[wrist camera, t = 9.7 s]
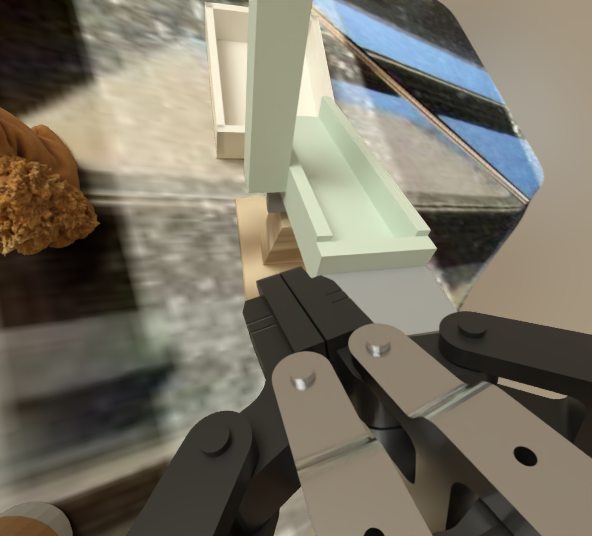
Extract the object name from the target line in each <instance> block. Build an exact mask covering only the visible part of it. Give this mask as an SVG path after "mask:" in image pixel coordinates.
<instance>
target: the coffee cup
mask: <svg viewBox="0 0 592 536" xmlns="http://www.w3.org/2000/svg"><path fill="white" fill-rule="evenodd" d="M0 536H73V533H72V529H71V526H70V523H69V520H68V519H67V517H66V516H65V515H64V513H63V512H62V511H61V510H59V509H58V508H56V507H55V506H53V505H51V504H47V503H43V502H28V503H25V504H21V505H18V506H15V507H13V508H11V509H9V510H7V511H5V512H3V513H2V514H0Z"/></svg>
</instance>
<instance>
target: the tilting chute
mask: <svg viewBox="0 0 592 536" xmlns="http://www.w3.org/2000/svg"><path fill="white" fill-rule="evenodd" d="M311 7H312V0H249V13H248V46H247V80H246V113H245V147H244V175H245V179H246V184H247V188H248V192H249V193H264V192H275V193H267V197H266V204H267V211H268V213H283V212H287V215H288V218H289V221H290V224H291V226H292V229H293V232H294V235H295V238H296V241H297V244H298V247H299V250H300V253H301V256H302V259H303V262H304V264H305V267H306V270H307V273H308V275H309V276H310V277H311V278H314V277H316V276H319V275H322V276H324V277H326V278H329V279H331V280H334V281H335V283H336V284H337V285H338V286H339V287H340V288H341V289H342V291H344V292H345V293H346V294H347V295H348V296H349V298H351V299H352V300H353V301H354V302H355V304H356V305H357V306H358V307H359V308H360V309H361V310H362V311H363V312H364V313H365V314H366V315H367V316H368V317H369V318H370V319H371V320H372V321H373V322H374V323H381V324H387V325H391V326H394V327H396V328H397V329H399V330H400V331H402V332H403V333H404V334H405V335H407V336H419V335H426V334H434V333H439V325H440V322H441V320H442V319H443V318H444V317H446V316H447V315H449V314H452V313H455V312H457V310H456V309H455V307H454V306H453V304H452V303H451V301H450V300H449V298H448V297H447V295H446V294H445V292H444V291H443V290H442V288H441V287H440V285H439V284H438V282H437V281H436V279H435V278H434V276H433V275H432V273H431V272H430V270H429V269H428V267H427V266H426V265H427V264H428V262H429V261H430V259H431V257H432V256H433V254H434V252H435V251H436V249H437V248H436V247H435V245H434V244H433V242H432V241H431V240H430V238H429V237H428V234H429V232H430V231H431V230H430V228H429V227H428V226H427V224H426V223H425V222H424V220H423V219H422V218H421V216H420V215H419V214H418V212H417V211H416V210H415V208H414V207H413V206H412V204H411V203H410V202H409V200H408V199H407V198H406V196H405V195H404V194H403V192H402V191H401V190H400V188H399V187H398V186H397V184H396V183H395V182H394V180H393V179H392V178H391V176H390V175H389V174H388V172H387V171H386V170H385V168H384V167H383V166H382V164H381V163H380V162H379V160H378V159H377V158H376V156H375V155H374V154H373V152H372V151H371V150H370V148H369V147H368V146H367V144H366V143H365V142H364V140H363V139H362V138H361V136H360V135H359V134H358V132H357V131H356V130H355V128H354V127H353V126H352V124H351V123H350V122H349V120H348V119H347V118H346V116H345V115H344V114H343V112H342V111H341V110H340V108H339V107H338V106H337V104H336V103H335V102H334V101H333V99H332V98H331V97H328V96H322V99H321V105H320V110H319V116H318V117H311V116H296V115H297V108H298V101H299V94H300V87H301V79H302V72H303V65H304V58H305V51H306V43H307V36H308V29H309V22H310V15H311Z"/></svg>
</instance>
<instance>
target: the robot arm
mask: <svg viewBox="0 0 592 536" xmlns="http://www.w3.org/2000/svg"><path fill="white" fill-rule="evenodd" d="M256 285H257V289H258V292H259V296H258V297H256V298H253V299H250V300H247V301H245V305H244V309H243V315H244V319H245V322H246V325H247V328H248V331H249V335H250V338H251V341H252V344H253V347H254V350H255V353H256V356H257V358H258V361H259V363H260V366H261V369H262V371H263V374H264V377H265V379H266V382H265V385H264V388H263V390H262V392H261V393H260V395H259V396H258V398H257V399H256V400H255V401H254V402H253V403H252V404H250V405H249V406H248V407H247V408H245V409H244V410H243V411H242V412H240V413H237V412H234V411H220V412H216V413H213V414H211V415H209V416H207V417H205V418H203V419H202V420H201V421H199V422H198V423H197V424H196V425H195V426H194V427H193V428H192V429H191V430H190V432H189V433H188V434H187V436H186V438H185V439H184V441H183V443H182V444H181V446H180V448H179V449H178V451H177V453H176V454H175V456H174V458H173V459H172V461H171V463H170V464H169V466H168V468H167V469H166V471H165V473H164V474H163V476H162V478H161V479H160V481H159V482H158V484H157V486H156V487H155V489H154V491H153V492H152V494H151V496H150V497H149V499H148V501H147V502H146V504H145V506H144V507H143V509H142V511H141V512H140V514H139V516H138V517H137V519H136V521H135V522H134V524H133V526H132V527H131V529H130V531H129V532H128V534H127V536H273V535H274V532H275V528H276V525H277V522H278V518H279V510H280V507H281V506H282V505H283V504H284V503H285V502H286V501H287V500H288V499H289V498H290V497H291V496H292V495H293V494H294V493H295V492H296V491H297V490H298V489H299V488H300V487H302V490H303V494H304V497H305V501H306V504H307V508H308V511H309V515H310V518H311V522H312V525H313V529H314V532H315V536H592V335H590V334H584V333H580V332H574V331H569V330H564V329H559V328H554V327H549V326H543V325H538V324H533V323H528V322H523V321H518V320H512V319H507V318H502V317H496V316H492V315H487V314H481V313H476V312H467V311H463V312H455V313H452V314H449V315H447V316H446V317H444V318H443V319H442V320H441V322H440V325H439V333H434V334H426V335H419V336H407V335H405V334H404V333H403V332H402V331H400V330H399V329H397V328H396V327H394V326H391V325H387V324H381V323H374V322H373V321H372V320H371V319H370V318H369V317H368V316H367V315H366V314H365V313H364V312H363V311H362V310H361V309H360V308H359V307H358V306H357V305H356V304H355V302H354V301H353V300H352V299H351V298H349V296H348V295H347V294H346V293H345V292H344V291H342V289H341V288H340V287H339V286H338V285H337V284H336V283H335V281H334V280H331V279H329V278H326V277H324V276H322V275H319V276H316V277H314V278H311V277H310V276H309V275H308V273H307V272H306V271H305V270H304V269H303V268H302V267H301V266H299V267H296V268H293V269H290V270H287V271H284V272H281V273H279V274H275V275H272V276H269V277H266V278H263V279H260V280H257V281H256ZM498 377H501V378H505V379H509V380H513V381H516V382H520V383H524V384H527V385H531V386H534V387H538V388H542V389H546V390H549V391H553V392H556V393H560V394H563V395H567V397H566V398H563V399H549V398H546V397H542V396H539V395H535V394H531V393H528V392H525V391H521V390H517V389H514V388H510V387H507V386H503V385H500V384H497V382H498Z"/></svg>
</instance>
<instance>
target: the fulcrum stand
mask: <svg viewBox="0 0 592 536" xmlns="http://www.w3.org/2000/svg"><path fill="white" fill-rule="evenodd" d="M235 204H236V213H237V223H238V232H239V242H240V251H241V261H242V270H243V280H244V289H245V299H246V301H247V300H250V299H253V298H256V297H258V296H259V292H258V289H257V285H256V281H257V280H260V279H263V278H266V277H269V276H272V275H275V274H279V273H281V272H284V271H287V270H290V269H293V268H296V267H299V266H301V267H302V268H303V269H304V270H305V271H306V272H307V270H306V267H305V264H304V262H303V259H302V256H301V253H300V250H299V247H298V244H297V241H296V238H295V235H294V232H293V229H292V226H291V224H290V221H289V218H288V215H287V212H283V213H268V211H267V204H266V197H250V198H236V201H235Z"/></svg>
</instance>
